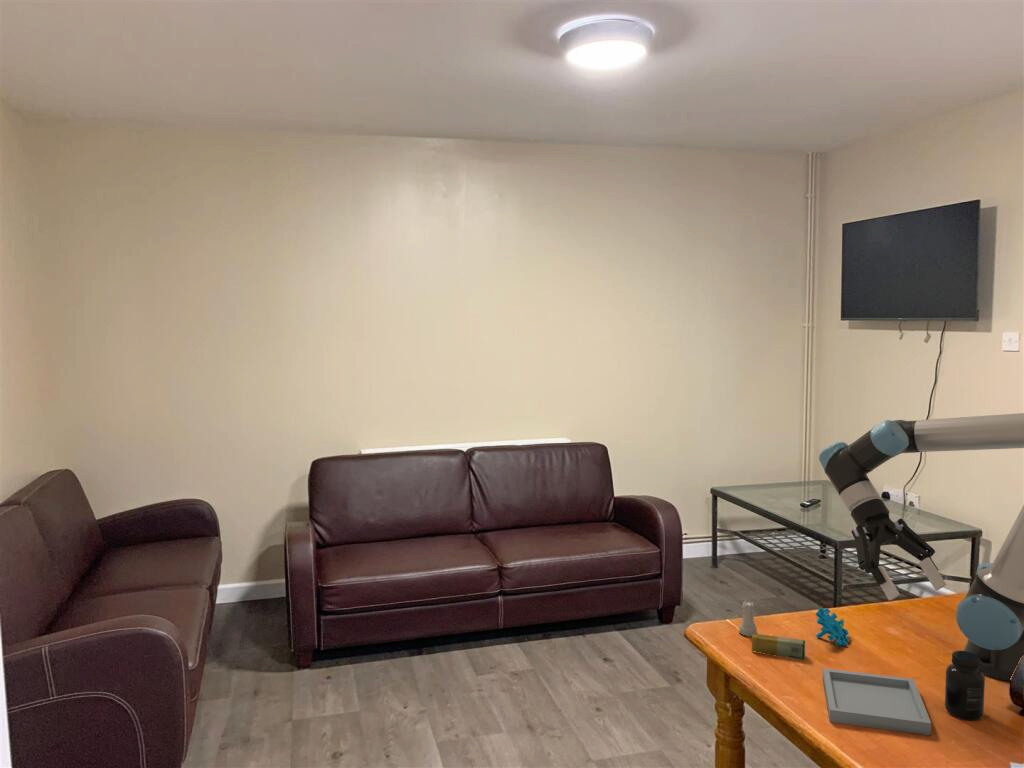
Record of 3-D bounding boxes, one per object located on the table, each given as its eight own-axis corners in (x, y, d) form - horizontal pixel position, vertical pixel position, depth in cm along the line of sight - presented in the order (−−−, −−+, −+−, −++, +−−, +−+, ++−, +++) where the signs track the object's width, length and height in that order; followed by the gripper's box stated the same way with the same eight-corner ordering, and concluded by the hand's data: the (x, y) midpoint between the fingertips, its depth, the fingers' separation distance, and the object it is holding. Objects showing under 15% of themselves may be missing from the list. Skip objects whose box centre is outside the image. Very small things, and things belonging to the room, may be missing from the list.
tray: (913, 690, 167) (913, 679, 167) (930, 735, 150) (931, 723, 150) (822, 679, 173) (822, 668, 172) (829, 721, 156) (830, 709, 155)
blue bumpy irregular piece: (839, 647, 184) (813, 609, 189) (820, 659, 187) (795, 621, 193) (859, 639, 192) (834, 602, 197) (841, 650, 195) (816, 614, 200)
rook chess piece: (753, 629, 199) (754, 598, 198) (759, 636, 194) (760, 605, 193) (736, 629, 199) (736, 599, 198) (742, 637, 194) (742, 606, 193)
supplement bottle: (983, 708, 159) (986, 652, 158) (983, 724, 154) (986, 666, 152) (944, 700, 163) (947, 645, 162) (943, 715, 157) (946, 658, 156)
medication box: (805, 656, 184) (805, 639, 184) (805, 661, 182) (805, 644, 181) (752, 648, 189) (752, 632, 188) (751, 653, 186) (751, 636, 186)
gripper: (895, 507, 186) (948, 591, 174) (813, 520, 176) (863, 609, 164) (915, 491, 180) (971, 576, 168) (832, 503, 171) (885, 594, 159)
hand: (918, 592), depth 166 cm, fingers open, 13 cm apart
